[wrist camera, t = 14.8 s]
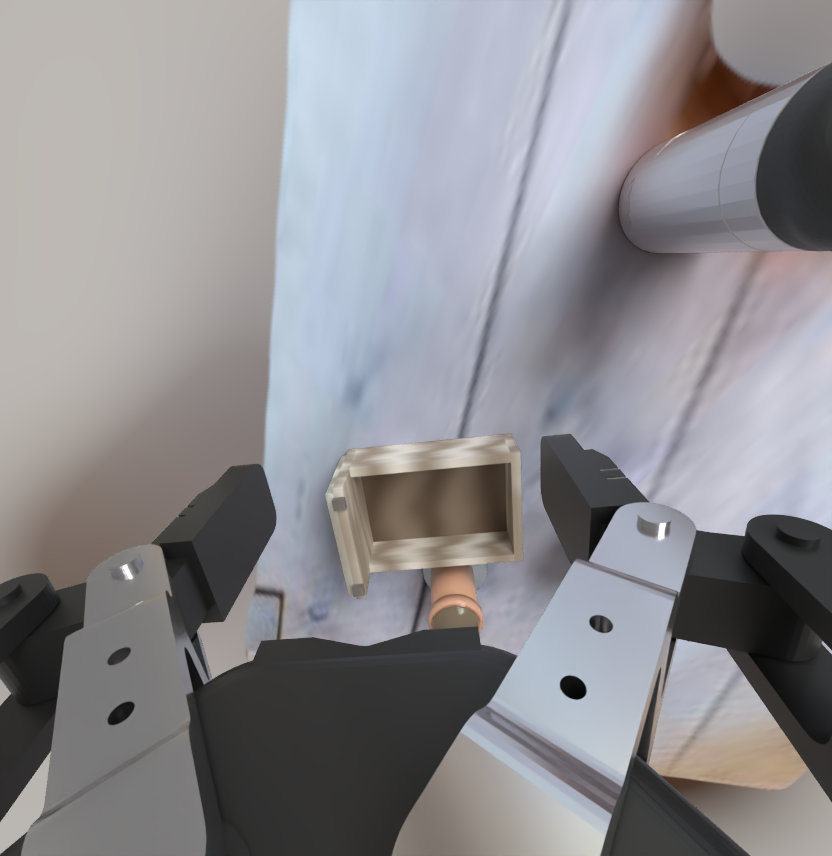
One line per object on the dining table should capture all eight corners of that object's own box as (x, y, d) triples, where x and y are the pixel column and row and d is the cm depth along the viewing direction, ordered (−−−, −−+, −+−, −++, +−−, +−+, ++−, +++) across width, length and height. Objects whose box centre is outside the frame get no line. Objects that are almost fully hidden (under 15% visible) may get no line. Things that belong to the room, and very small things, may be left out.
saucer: (484, 540, 53) (485, 544, 52) (488, 590, 56) (488, 594, 55) (419, 545, 53) (419, 549, 53) (426, 594, 57) (426, 599, 56)
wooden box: (511, 433, 47) (531, 474, 38) (514, 533, 52) (532, 590, 44) (341, 450, 48) (322, 493, 40) (361, 546, 54) (348, 603, 45)
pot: (474, 552, 53) (482, 601, 45) (476, 589, 55) (484, 642, 47) (426, 555, 53) (426, 605, 45) (430, 592, 55) (431, 645, 48)
